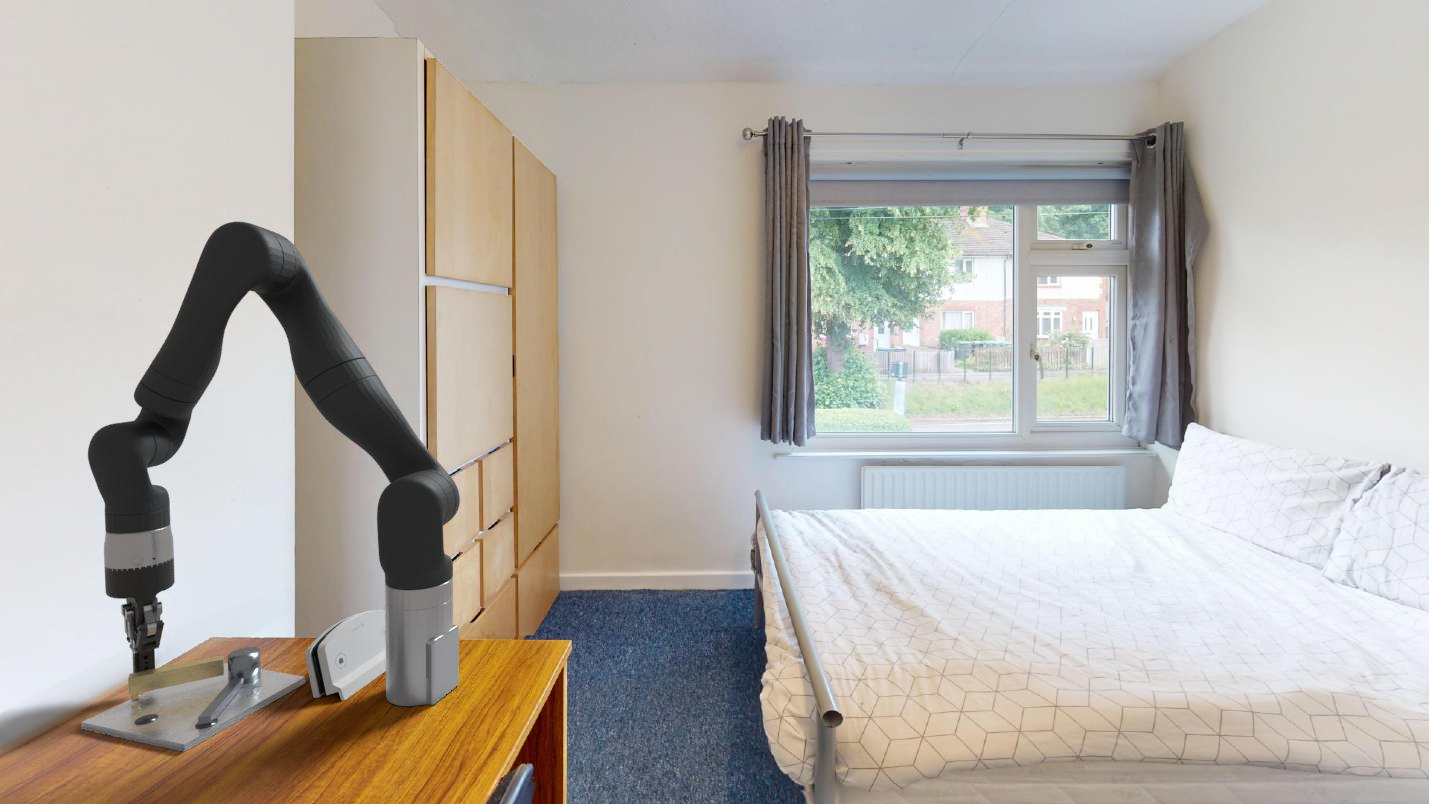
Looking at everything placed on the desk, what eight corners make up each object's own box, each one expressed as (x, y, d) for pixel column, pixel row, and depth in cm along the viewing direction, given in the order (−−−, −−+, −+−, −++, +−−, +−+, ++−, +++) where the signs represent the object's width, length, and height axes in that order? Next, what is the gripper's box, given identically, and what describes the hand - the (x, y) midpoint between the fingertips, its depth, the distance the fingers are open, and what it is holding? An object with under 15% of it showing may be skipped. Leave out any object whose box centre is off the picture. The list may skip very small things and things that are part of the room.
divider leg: (224, 678, 98) (223, 655, 97) (223, 682, 96) (223, 659, 96) (130, 698, 91) (129, 673, 91) (129, 703, 90) (128, 678, 90)
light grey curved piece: (342, 701, 95) (321, 636, 95) (315, 709, 96) (294, 644, 95) (413, 651, 111) (395, 595, 111) (389, 657, 112) (371, 602, 112)
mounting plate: (305, 683, 100) (304, 651, 99) (184, 751, 82) (183, 713, 82) (214, 667, 104) (213, 636, 103) (81, 729, 86) (79, 693, 86)
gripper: (185, 562, 93) (189, 680, 94) (162, 543, 101) (165, 651, 102) (114, 575, 87) (119, 700, 88) (95, 554, 95) (100, 669, 96)
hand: (144, 674), depth 95 cm, fingers closed
